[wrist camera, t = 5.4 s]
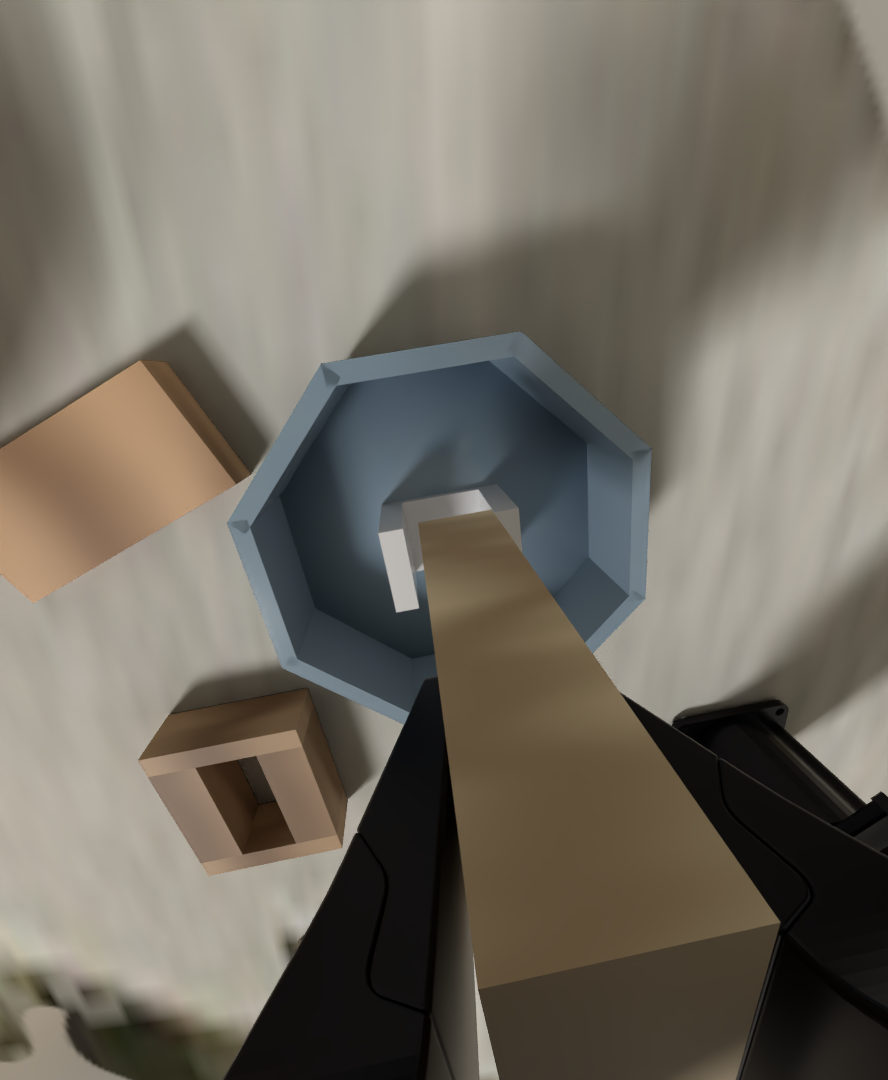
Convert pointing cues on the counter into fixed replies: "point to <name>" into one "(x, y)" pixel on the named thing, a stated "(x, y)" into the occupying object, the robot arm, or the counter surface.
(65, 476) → the tapered wooden plank
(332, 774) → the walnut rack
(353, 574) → the blue octagonal bowl
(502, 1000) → the bar
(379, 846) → the robot arm
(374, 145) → the counter surface
